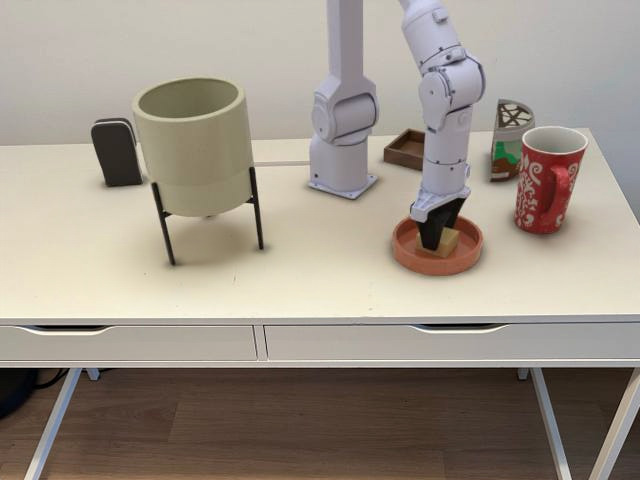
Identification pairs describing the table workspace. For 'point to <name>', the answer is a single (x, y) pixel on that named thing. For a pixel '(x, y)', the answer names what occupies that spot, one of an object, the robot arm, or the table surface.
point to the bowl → (432, 264)
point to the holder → (407, 150)
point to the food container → (509, 138)
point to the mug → (547, 177)
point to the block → (441, 243)
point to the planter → (197, 148)
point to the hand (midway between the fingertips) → (436, 240)
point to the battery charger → (116, 151)
